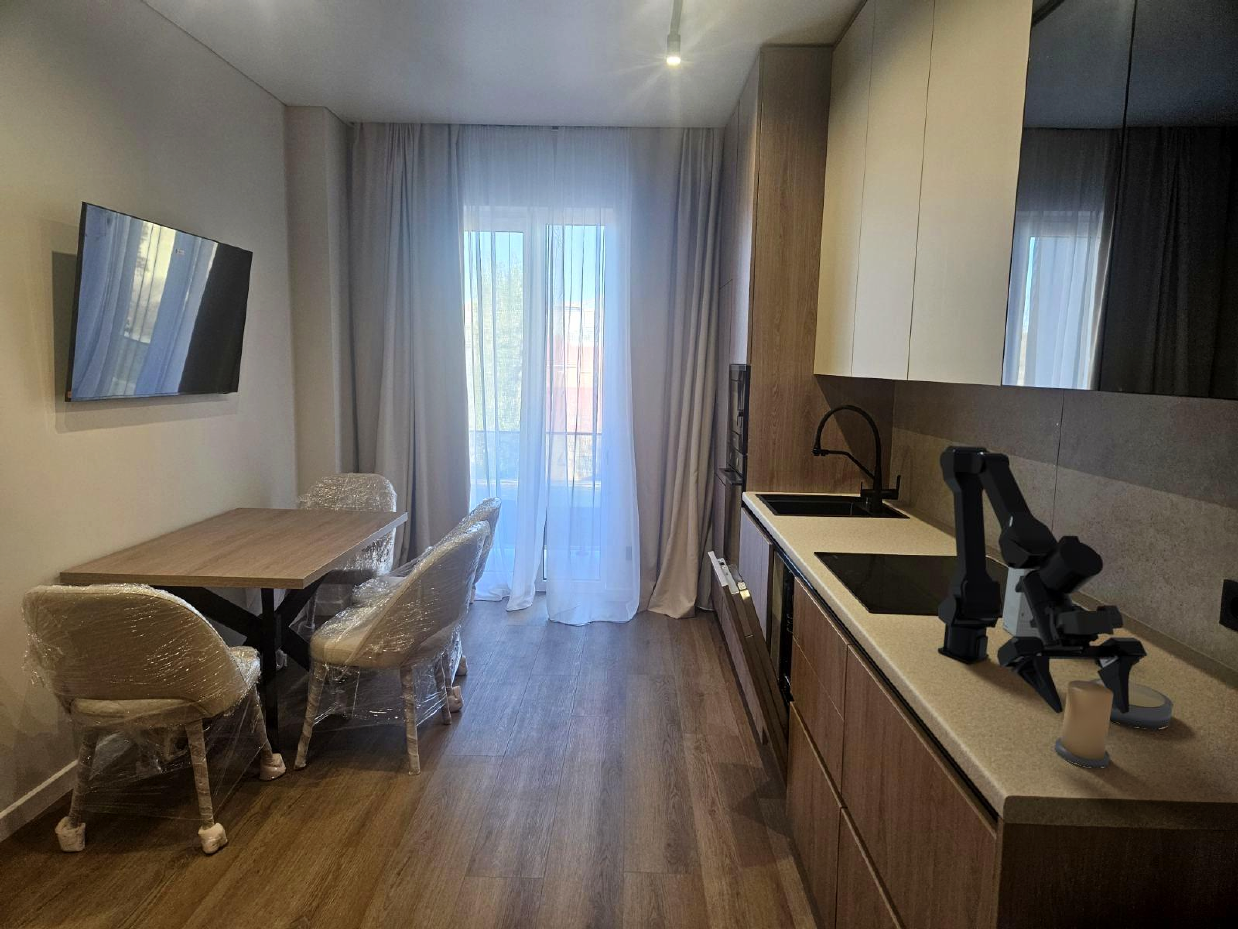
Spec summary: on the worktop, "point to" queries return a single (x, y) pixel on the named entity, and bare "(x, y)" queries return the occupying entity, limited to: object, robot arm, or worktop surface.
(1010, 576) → the skincare box
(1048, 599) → the robot arm
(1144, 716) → the grey round disc
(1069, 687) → the tan rounded stopper
